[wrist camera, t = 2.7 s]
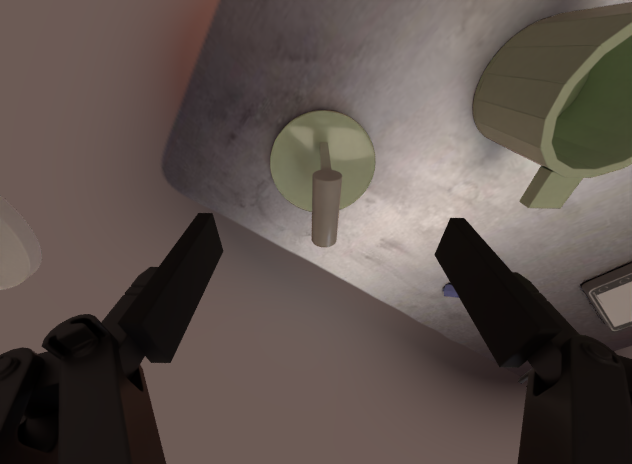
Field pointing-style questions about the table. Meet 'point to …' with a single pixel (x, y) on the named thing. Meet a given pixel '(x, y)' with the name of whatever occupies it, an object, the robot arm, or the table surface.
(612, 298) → the smartphone
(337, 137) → the lid
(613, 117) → the pot
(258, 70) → the table surface
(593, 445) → the robot arm
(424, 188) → the table surface
